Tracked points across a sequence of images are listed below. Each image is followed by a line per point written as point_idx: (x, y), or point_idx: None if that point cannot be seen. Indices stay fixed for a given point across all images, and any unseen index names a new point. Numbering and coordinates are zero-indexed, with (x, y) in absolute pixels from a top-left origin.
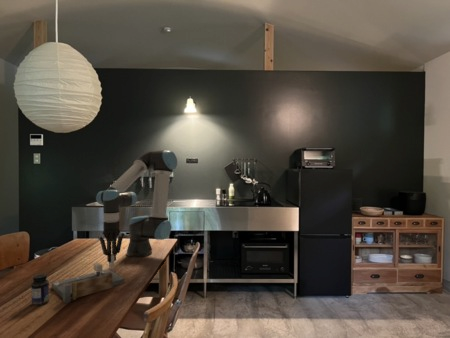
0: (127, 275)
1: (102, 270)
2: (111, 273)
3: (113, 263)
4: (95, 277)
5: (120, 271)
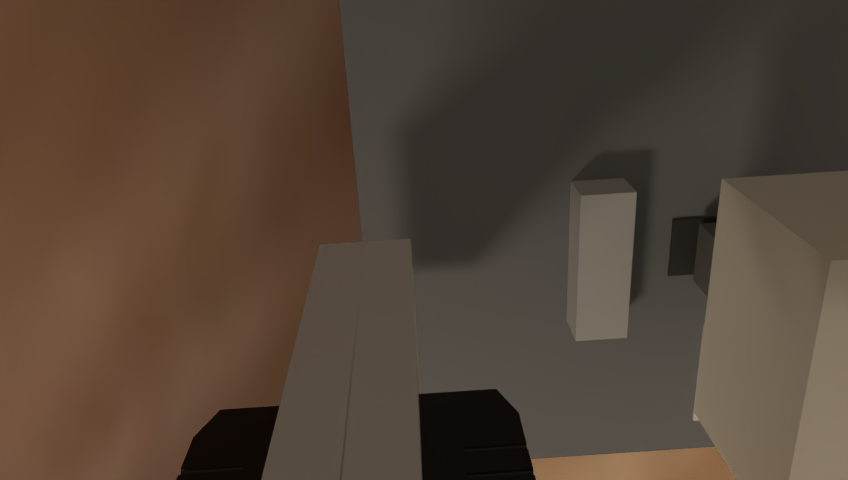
0: (52, 12)
1: (729, 185)
2: (426, 156)
3: (334, 322)
4: (843, 140)
5: (133, 360)
